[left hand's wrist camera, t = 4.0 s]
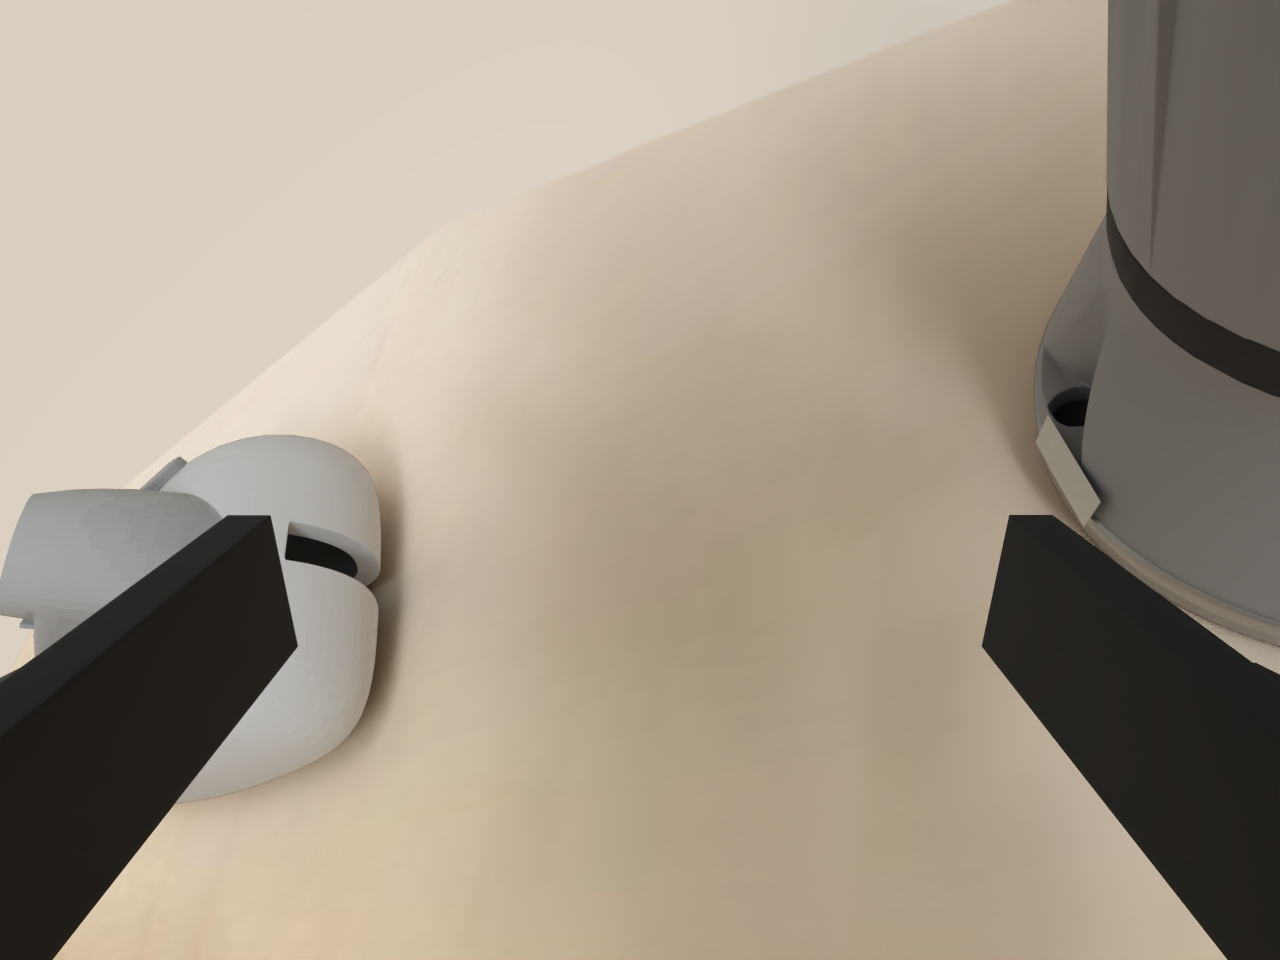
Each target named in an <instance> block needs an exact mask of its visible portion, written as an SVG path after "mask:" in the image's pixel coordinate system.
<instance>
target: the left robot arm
mask: <svg viewBox="0 0 1280 960" xmlns="http://www.w3.org/2000/svg"><path fill="white" fill-rule="evenodd" d="M1034 396H1035V410H1036V418H1037V426H1038V433H1039V435H1038V438H1037V440H1036V442H1035V443H1036V445H1037V447H1038V449H1039V450H1040V452H1041V454H1042V456H1043V457H1044V460H1045V463H1046V466H1047V469H1048V472H1049V474H1050V476H1051V479H1052V481H1053V483H1054V485H1055V487H1056V489H1057V492H1058V493H1059V495H1060V497H1061V498H1062V500H1063V501H1064V503H1065V505H1066V506H1067V508H1068V510H1069V511H1070V513H1071V514H1072V515H1073V517H1074V518H1075V519H1076V520H1077V522H1078V523H1079V524H1080V526H1081V527H1082V528H1083V530H1084V531H1085V532H1086V533H1087V534H1088V535H1089V536H1090V537H1091V538H1092V539H1093V540H1094V541H1095V543H1096V544H1097V545H1098V546H1099V547H1100V548H1101V549H1102V550H1103V551H1104V552H1105V553H1107V554H1108V555H1109V556H1110V557H1111V558H1112V559H1111V558H1110V557H1108V556H1107V555H1106V554H1104V553H1103V552H1102V551H1100V550H1099V549H1098V548H1096V547H1095V546H1094V545H1092V544H1091V543H1090V542H1088V541H1087V540H1085V539H1084V538H1083V537H1081V536H1080V535H1079V534H1077V533H1076V532H1075V531H1073V530H1072V529H1071V528H1069V527H1068V526H1066V525H1065V524H1064V523H1062V522H1061V521H1060V520H1058V519H1057V518H1056V517H1054V516H1053V515H1009V519H1008V524H1007V529H1006V533H1005V538H1004V543H1003V548H1002V553H1001V557H1000V562H999V567H998V572H997V576H996V581H995V586H994V591H993V596H992V600H991V605H990V610H989V615H988V619H987V624H986V629H985V634H984V639H983V643H982V647H983V649H984V650H985V651H986V652H987V654H988V655H989V656H990V657H991V659H992V660H993V661H994V663H995V664H996V665H997V666H998V668H999V669H1000V670H1001V672H1002V673H1003V674H1004V675H1005V677H1006V678H1007V679H1008V680H1009V682H1010V683H1011V684H1012V686H1013V687H1014V688H1015V689H1016V691H1017V692H1018V693H1019V694H1020V696H1021V697H1022V698H1023V700H1024V701H1025V702H1026V703H1027V705H1028V706H1029V707H1030V708H1031V710H1032V711H1033V712H1034V714H1035V715H1036V716H1037V717H1038V719H1039V720H1040V721H1041V722H1042V724H1043V725H1044V726H1045V728H1046V729H1047V730H1048V731H1049V733H1050V734H1051V735H1052V737H1053V738H1054V739H1055V740H1056V742H1057V743H1058V744H1059V745H1060V747H1061V748H1062V749H1063V751H1064V752H1065V753H1066V754H1067V756H1068V757H1069V758H1070V759H1071V761H1072V762H1073V763H1074V765H1075V766H1076V767H1077V768H1078V770H1079V771H1080V772H1081V773H1082V775H1083V776H1084V777H1085V779H1086V780H1087V781H1088V782H1089V784H1090V785H1091V786H1092V788H1093V789H1094V790H1095V791H1096V793H1097V794H1098V795H1099V796H1100V798H1101V799H1102V800H1103V802H1104V803H1105V804H1106V805H1107V807H1108V808H1109V809H1110V810H1111V812H1112V813H1113V814H1114V816H1115V817H1116V818H1117V819H1118V821H1119V822H1120V823H1121V824H1122V826H1123V827H1124V828H1125V830H1126V831H1127V832H1128V833H1129V835H1130V836H1131V837H1132V838H1133V840H1134V841H1135V842H1136V844H1137V845H1138V846H1139V847H1140V849H1141V850H1142V851H1143V853H1144V854H1145V855H1146V856H1147V858H1148V859H1149V860H1150V861H1151V863H1152V864H1153V865H1154V867H1155V868H1156V869H1157V870H1158V872H1159V873H1160V874H1161V875H1162V877H1163V878H1164V879H1165V881H1166V882H1167V883H1168V884H1169V886H1170V887H1171V888H1172V889H1173V891H1174V892H1175V893H1176V895H1177V896H1178V897H1179V898H1180V900H1181V901H1182V902H1183V904H1184V905H1185V906H1186V907H1187V909H1188V910H1189V911H1190V912H1191V914H1192V915H1193V916H1194V918H1195V919H1196V920H1197V921H1198V923H1199V924H1200V925H1201V926H1202V928H1203V929H1204V930H1205V932H1206V933H1207V934H1208V935H1209V937H1210V938H1211V939H1212V940H1213V942H1214V943H1215V944H1216V946H1217V947H1218V948H1219V949H1220V951H1221V952H1222V953H1223V954H1224V956H1225V957H1226V958H1227V960H1280V675H1279V674H1277V673H1275V672H1273V671H1271V670H1269V669H1267V668H1265V667H1263V666H1261V665H1259V664H1257V663H1252V662H1251V661H1249V660H1248V659H1247V658H1245V657H1244V656H1243V655H1241V654H1240V653H1239V652H1237V651H1236V650H1235V649H1233V648H1232V647H1230V646H1229V645H1228V644H1226V643H1225V642H1224V641H1222V640H1221V639H1220V638H1218V637H1217V636H1216V635H1214V634H1213V633H1211V632H1210V631H1209V630H1207V629H1206V628H1205V627H1203V626H1202V625H1201V624H1199V623H1198V622H1197V621H1195V620H1194V619H1193V618H1191V617H1190V616H1188V615H1187V614H1186V613H1184V612H1183V611H1182V610H1180V609H1179V608H1178V607H1176V606H1175V605H1174V604H1172V603H1171V602H1169V601H1168V600H1167V599H1165V598H1164V597H1166V598H1168V599H1169V600H1171V601H1173V602H1174V603H1176V604H1178V605H1180V606H1182V607H1184V608H1186V609H1188V610H1190V611H1192V612H1193V613H1195V614H1197V615H1199V616H1201V617H1203V618H1205V619H1207V620H1210V621H1212V622H1215V623H1217V624H1219V625H1222V626H1224V627H1226V628H1229V629H1231V630H1234V631H1236V632H1238V633H1241V634H1244V635H1247V636H1250V637H1253V638H1256V639H1258V640H1261V641H1264V642H1267V643H1270V644H1273V645H1276V646H1280V0H1108V92H1107V213H1106V216H1105V217H1104V219H1103V221H1102V223H1101V225H1100V227H1099V228H1098V230H1097V232H1096V234H1095V236H1094V238H1093V240H1092V241H1091V243H1090V245H1089V247H1088V249H1087V251H1086V252H1085V254H1084V256H1083V258H1082V260H1081V262H1080V264H1079V265H1078V267H1077V269H1076V271H1075V273H1074V275H1073V276H1072V278H1071V280H1070V282H1069V284H1068V286H1067V288H1066V289H1065V291H1064V293H1063V295H1062V297H1061V299H1060V300H1059V302H1058V304H1057V306H1056V308H1055V310H1054V312H1053V314H1052V316H1051V318H1050V320H1049V322H1048V325H1047V327H1046V329H1045V332H1044V335H1043V338H1042V341H1041V344H1040V347H1039V352H1038V357H1037V362H1036V367H1035V380H1034ZM1115 561H1116V562H1115ZM1157 592H1158V593H1157ZM1159 593H1160V594H1161V595H1163V596H1164V597H1163V596H1161V595H1160V594H1159ZM297 647H298V643H297V639H296V634H295V629H294V624H293V619H292V615H291V610H290V605H289V600H288V596H287V591H286V586H285V581H284V576H283V572H282V567H281V562H280V557H279V553H278V548H277V543H276V538H275V533H274V529H273V524H272V519H271V515H227V516H226V517H224V518H223V519H222V520H220V521H219V522H218V523H216V524H215V525H213V526H212V527H211V528H209V529H208V530H207V531H205V532H204V533H203V534H201V535H200V536H199V537H197V538H196V539H195V540H193V541H192V542H190V543H189V544H188V545H186V546H185V547H184V548H182V549H181V550H180V551H178V552H177V553H176V554H174V555H173V556H171V557H170V558H169V559H167V560H166V561H165V562H163V563H162V564H161V565H159V566H158V567H157V568H155V569H154V570H153V571H151V572H150V573H148V574H147V575H146V576H144V577H143V578H142V579H140V580H139V581H138V582H136V583H135V584H134V585H132V586H131V587H129V588H128V589H127V590H125V591H124V592H123V593H121V594H120V595H119V596H117V597H116V598H115V599H113V600H112V601H111V602H109V603H108V604H106V605H105V606H104V607H102V608H101V609H100V610H98V611H97V612H96V613H94V614H93V615H92V616H90V617H89V618H87V619H86V620H85V621H83V622H82V623H81V624H79V625H78V626H77V627H75V628H74V629H73V630H71V631H70V632H69V633H67V634H66V635H64V636H63V637H62V638H60V639H59V640H58V641H56V642H55V643H54V644H52V645H51V646H50V647H48V648H47V649H45V650H44V651H43V652H41V653H40V654H39V655H37V656H36V657H35V658H33V659H32V660H31V661H29V662H28V663H27V664H25V665H24V666H22V667H21V668H19V669H17V670H15V671H13V672H11V673H9V674H7V675H5V676H3V677H1V678H0V960H53V958H54V957H55V956H56V954H57V953H58V952H59V951H60V949H61V948H62V947H63V946H64V944H65V943H66V942H67V940H68V939H69V938H70V937H71V935H72V934H73V933H74V932H75V930H76V929H77V928H78V926H79V925H80V924H81V923H82V921H83V920H84V919H85V918H86V916H87V915H88V914H89V912H90V911H91V910H92V909H93V907H94V906H95V905H96V903H97V902H98V901H99V900H100V898H101V897H102V896H103V895H104V893H105V892H106V891H107V889H108V888H109V887H110V886H111V884H112V883H113V882H114V881H115V879H116V878H117V877H118V875H119V874H120V873H121V872H122V870H123V869H124V868H125V867H126V865H127V864H128V863H129V861H130V860H131V859H132V858H133V856H134V855H135V854H136V853H137V851H138V850H139V849H140V847H141V846H142V845H143V844H144V842H145V841H146V840H147V838H148V837H149V836H150V835H151V833H152V832H153V831H154V830H155V828H156V827H157V826H158V824H159V823H160V822H161V821H162V819H163V818H164V817H165V816H166V814H167V813H168V812H169V810H170V809H171V808H172V807H173V805H174V804H175V803H176V802H177V800H178V799H179V798H180V796H181V795H182V794H183V793H184V791H185V790H186V789H187V788H188V786H189V785H190V784H191V782H192V781H193V780H194V779H195V777H196V776H197V775H198V773H199V772H200V771H201V770H202V768H203V767H204V766H205V765H206V763H207V762H208V761H209V759H210V758H211V757H212V756H213V754H214V753H215V752H216V751H217V749H218V748H219V747H220V745H221V744H222V743H223V742H224V740H225V739H226V738H227V737H228V735H229V734H230V733H231V731H232V730H233V729H234V728H235V726H236V725H237V724H238V722H239V721H240V720H241V719H242V717H243V716H244V715H245V714H246V712H247V711H248V710H249V708H250V707H251V706H252V705H253V703H254V702H255V701H256V700H257V698H258V697H259V696H260V694H261V693H262V692H263V691H264V689H265V688H266V687H267V686H268V684H269V683H270V682H271V680H272V679H273V678H274V677H275V675H276V674H277V673H278V672H279V670H280V669H281V668H282V666H283V665H284V664H285V663H286V661H287V660H288V659H289V657H290V656H291V655H292V654H293V652H294V651H295V650H296V649H297Z"/></svg>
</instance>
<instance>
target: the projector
mask: <svg viewBox="0 0 1280 960" xmlns="http://www.w3.org/2000/svg"><path fill="white" fill-rule="evenodd" d="M185 464H186V465H185ZM184 465H185V466H184ZM227 515H271V519H272V524H273V529H274V533H275V538H276V543H277V548H278V553H279V557H280V562H281V567H282V572H283V576H284V581H285V586H286V591H287V596H288V600H289V605H290V610H291V615H292V619H293V624H294V629H295V634H296V639H297V643H298V647H297V649H296V650H295V651H294V652H293V654H292V655H291V656H290V657H289V659H288V660H287V661H286V663H285V664H284V665H283V666H282V668H281V669H280V670H279V672H278V673H277V674H276V675H275V677H274V678H273V679H272V680H271V682H270V683H269V684H268V686H267V687H266V688H265V689H264V691H263V692H262V693H261V694H260V696H259V697H258V698H257V700H256V701H255V702H254V703H253V705H252V706H251V707H250V708H249V710H248V711H247V712H246V714H245V715H244V716H243V717H242V719H241V720H240V721H239V722H238V724H237V725H236V726H235V728H234V729H233V730H232V731H231V733H230V734H229V735H228V737H227V738H226V739H225V740H224V742H223V743H222V744H221V745H220V747H219V748H218V749H217V751H216V752H215V753H214V754H213V756H212V757H211V758H210V759H209V761H208V762H207V763H206V765H205V766H204V767H203V768H202V770H201V771H200V772H199V773H198V775H197V776H196V777H195V779H194V780H193V781H192V782H191V784H190V785H189V786H188V788H187V789H186V790H185V791H184V793H183V794H182V795H181V796H180V798H179V799H178V800H177V802H176V803H175V804H179V803H188V802H194V801H199V800H204V799H209V798H214V797H219V796H222V795H226V794H230V793H234V792H237V791H241V790H244V789H247V788H250V787H254V786H257V785H260V784H263V783H265V782H268V781H271V780H274V779H276V778H279V777H281V776H284V775H286V774H289V773H291V772H293V771H296V770H298V769H300V768H303V767H305V766H307V765H309V764H310V763H312V762H314V761H316V760H318V759H320V758H321V757H323V756H324V755H326V754H327V753H329V752H330V751H332V750H333V749H335V748H336V747H337V746H339V745H340V744H341V743H342V742H343V741H344V740H345V739H346V738H347V737H348V736H349V734H350V733H351V732H352V730H353V729H354V727H355V726H356V724H357V723H358V721H359V719H360V717H361V715H362V713H363V710H364V707H365V705H366V702H367V699H368V695H369V692H370V688H371V683H372V678H373V671H374V664H375V655H376V643H377V629H378V613H379V610H378V604H377V601H376V599H375V597H374V595H373V594H372V592H371V591H370V590H369V589H368V588H367V587H366V586H368V585H369V584H371V583H372V582H373V581H374V580H375V579H376V578H377V577H378V575H379V573H380V563H381V523H380V510H379V503H378V498H377V493H376V490H375V487H374V484H373V481H372V479H371V477H370V475H369V473H368V471H367V470H366V469H365V467H364V466H363V465H362V464H361V463H360V462H359V461H358V460H357V459H356V458H355V457H354V456H353V455H351V454H350V453H348V452H347V451H345V450H343V449H342V448H340V447H337V446H335V445H333V444H331V443H328V442H324V441H321V440H318V439H314V438H308V437H302V436H295V435H263V436H256V437H250V438H244V439H240V440H237V441H234V442H231V443H228V444H224V445H221V446H218V447H216V448H214V449H212V450H210V451H208V452H206V453H204V454H202V455H200V456H199V457H197V458H195V459H193V460H192V461H191V462H189V463H188V464H187V462H186V461H185V460H184V459H182V458H181V457H178V458H176V459H174V460H172V461H171V462H170V463H168V464H167V465H166V466H165V467H164V468H163V469H162V470H160V471H159V472H158V473H157V474H156V475H155V476H154V477H153V478H152V479H151V480H149V481H148V482H147V483H146V484H145V485H144V486H143V487H142V488H141V489H140V490H138V489H80V490H66V491H57V492H48V493H39V494H33V495H32V496H31V497H30V498H29V500H28V501H27V503H26V505H25V507H24V509H23V511H22V514H21V516H20V518H19V520H18V523H17V526H16V528H15V531H14V534H13V537H12V540H11V543H10V546H9V549H8V553H7V556H6V560H5V563H4V567H3V571H2V575H1V579H0V615H3V616H10V617H16V618H23V620H22V622H21V623H20V626H19V628H28V629H34V652H35V657H36V656H37V655H39V654H40V653H41V652H43V651H44V650H45V649H47V648H48V647H50V646H51V645H52V644H54V643H55V642H56V641H58V640H59V639H60V638H62V637H63V636H64V635H66V634H67V633H69V632H70V631H71V630H73V629H74V628H75V627H77V626H78V625H79V624H81V623H82V622H83V621H85V620H86V619H87V618H89V617H90V616H92V615H93V614H94V613H96V612H97V611H98V610H100V609H101V608H102V607H104V606H105V605H106V604H108V603H109V602H111V601H112V600H113V599H115V598H116V597H117V596H119V595H120V594H121V593H123V592H124V591H125V590H127V589H128V588H129V587H131V586H132V585H134V584H135V583H136V582H138V581H139V580H140V579H142V578H143V577H144V576H146V575H147V574H148V573H150V572H151V571H153V570H154V569H155V568H157V567H158V566H159V565H161V564H162V563H163V562H165V561H166V560H167V559H169V558H170V557H171V556H173V555H174V554H176V553H177V552H178V551H180V550H181V549H182V548H184V547H185V546H186V545H188V544H189V543H190V542H192V541H193V540H195V539H196V538H197V537H199V536H200V535H201V534H203V533H204V532H205V531H207V530H208V529H209V528H211V527H212V526H213V525H215V524H216V523H218V522H219V521H220V520H222V519H223V518H224V517H226V516H227Z"/></svg>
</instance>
